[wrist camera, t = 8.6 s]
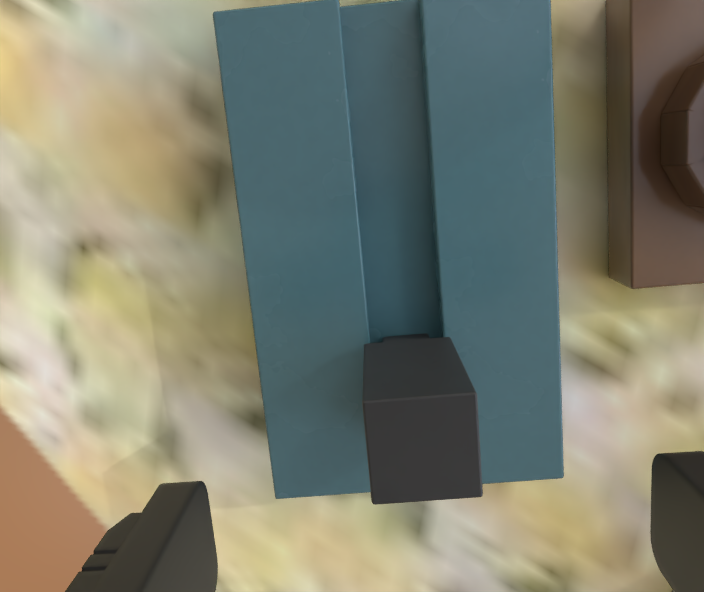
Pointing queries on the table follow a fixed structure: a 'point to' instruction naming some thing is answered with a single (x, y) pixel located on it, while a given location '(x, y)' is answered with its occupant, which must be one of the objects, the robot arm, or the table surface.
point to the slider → (420, 421)
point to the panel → (655, 141)
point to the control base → (396, 218)
